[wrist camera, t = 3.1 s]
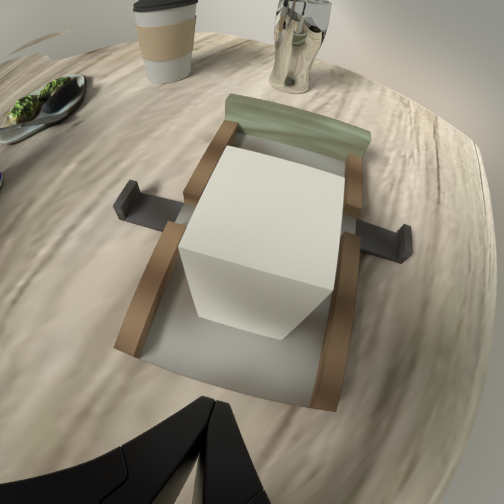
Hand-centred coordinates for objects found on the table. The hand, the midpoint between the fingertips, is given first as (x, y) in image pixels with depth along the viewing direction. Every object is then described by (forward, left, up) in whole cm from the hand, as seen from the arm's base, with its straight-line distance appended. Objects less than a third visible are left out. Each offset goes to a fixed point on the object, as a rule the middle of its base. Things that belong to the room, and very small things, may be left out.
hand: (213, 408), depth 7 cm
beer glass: (+31, -27, -11) cm, 42 cm away
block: (+6, -6, -11) cm, 13 cm away
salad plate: (+47, +9, -12) cm, 49 cm away
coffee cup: (+42, -12, -11) cm, 45 cm away
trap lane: (+10, -10, -11) cm, 18 cm away
